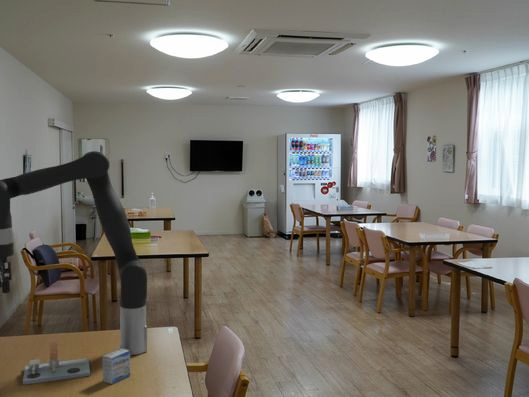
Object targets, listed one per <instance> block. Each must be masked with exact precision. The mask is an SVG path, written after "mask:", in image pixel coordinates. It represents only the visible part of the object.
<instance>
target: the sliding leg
mask: <svg viewBox="0 0 529 397" xmlns="http://www.w3.org/2000/svg"><path fill="white" fill-rule="evenodd" d="M58 342H59V341H58V338H55V339H54V338H53V339H49V357H48V363H49V367H52V372H53V373H54V372H55V366H59V362H60V355H59V344H58Z"/></svg>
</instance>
